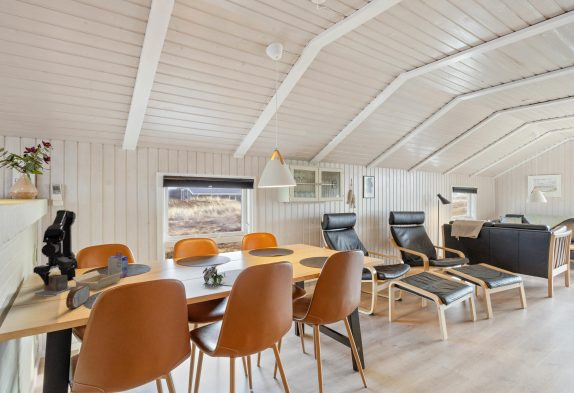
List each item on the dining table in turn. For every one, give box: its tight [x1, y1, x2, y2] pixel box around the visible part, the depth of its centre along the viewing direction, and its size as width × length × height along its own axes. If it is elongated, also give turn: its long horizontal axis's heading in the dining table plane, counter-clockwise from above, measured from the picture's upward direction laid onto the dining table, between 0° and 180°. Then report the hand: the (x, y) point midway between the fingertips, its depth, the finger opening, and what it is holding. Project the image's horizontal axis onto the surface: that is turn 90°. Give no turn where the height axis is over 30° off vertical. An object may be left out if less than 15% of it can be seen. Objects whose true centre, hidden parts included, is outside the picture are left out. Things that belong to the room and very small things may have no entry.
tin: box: [65, 284, 91, 309], centre depth 144 cm, size 15×3×8 cm, turn 5°
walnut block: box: [43, 273, 69, 291], centre depth 165 cm, size 9×5×7 cm, turn 78°
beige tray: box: [72, 270, 123, 290], centre depth 176 cm, size 18×16×6 cm
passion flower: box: [202, 264, 226, 286], centre depth 177 cm, size 11×11×12 cm
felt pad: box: [34, 285, 76, 297], centre depth 165 cm, size 12×12×1 cm
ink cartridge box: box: [107, 252, 129, 279], centre depth 191 cm, size 10×6×14 cm, turn 78°
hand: (55, 282), depth 165 cm, fingers open, 9 cm apart
